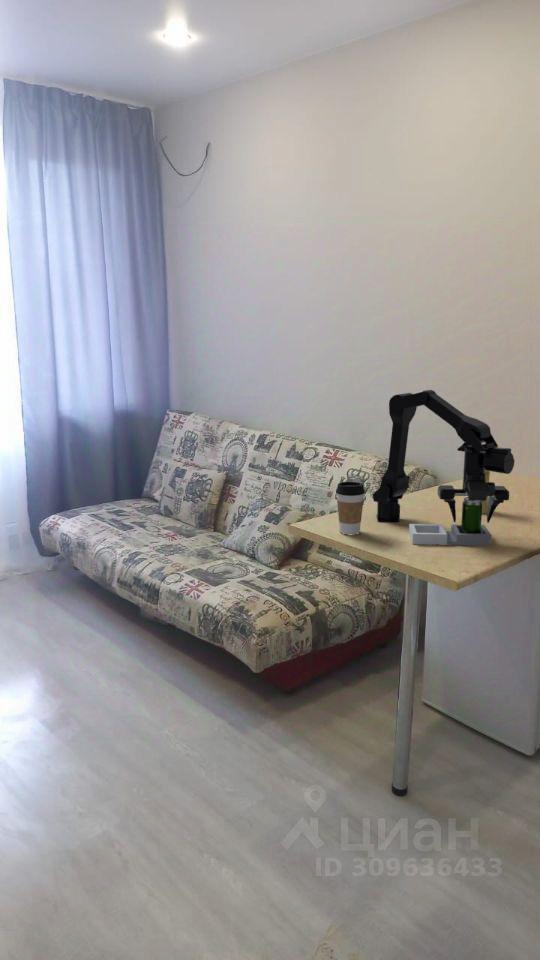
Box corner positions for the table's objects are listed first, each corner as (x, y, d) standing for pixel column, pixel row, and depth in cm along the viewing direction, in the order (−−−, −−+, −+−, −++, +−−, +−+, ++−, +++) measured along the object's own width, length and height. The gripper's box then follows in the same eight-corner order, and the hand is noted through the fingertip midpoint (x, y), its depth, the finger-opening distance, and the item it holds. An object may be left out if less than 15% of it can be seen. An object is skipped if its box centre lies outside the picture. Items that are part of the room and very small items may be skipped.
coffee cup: (341, 538, 202) (342, 487, 198) (331, 529, 210) (331, 481, 206) (368, 535, 204) (369, 485, 200) (357, 527, 212) (358, 478, 208)
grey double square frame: (412, 544, 196) (412, 533, 195) (409, 533, 205) (409, 523, 204) (490, 545, 194) (491, 535, 193) (483, 534, 203) (484, 525, 202)
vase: (473, 507, 230) (476, 465, 227) (491, 511, 226) (494, 468, 223) (465, 512, 226) (468, 469, 222) (484, 515, 222) (486, 471, 218)
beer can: (471, 544, 195) (473, 502, 192) (456, 539, 199) (458, 498, 197) (484, 540, 198) (486, 499, 195) (469, 535, 202) (471, 495, 199)
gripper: (444, 474, 187) (441, 530, 191) (516, 475, 185) (512, 531, 189) (438, 465, 198) (436, 518, 201) (506, 466, 196) (502, 519, 200)
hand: (471, 522), depth 198 cm, fingers open, 9 cm apart
